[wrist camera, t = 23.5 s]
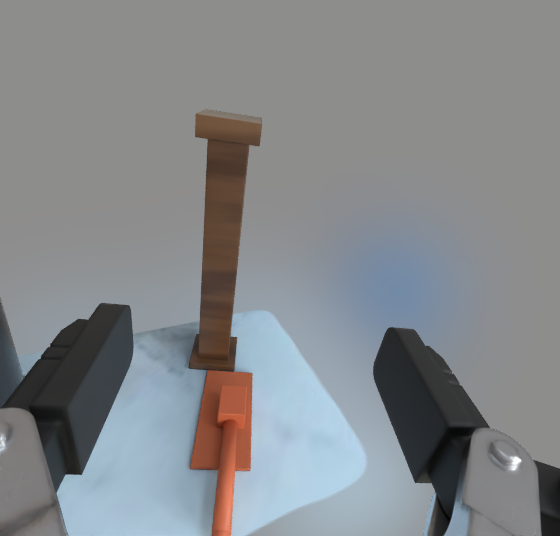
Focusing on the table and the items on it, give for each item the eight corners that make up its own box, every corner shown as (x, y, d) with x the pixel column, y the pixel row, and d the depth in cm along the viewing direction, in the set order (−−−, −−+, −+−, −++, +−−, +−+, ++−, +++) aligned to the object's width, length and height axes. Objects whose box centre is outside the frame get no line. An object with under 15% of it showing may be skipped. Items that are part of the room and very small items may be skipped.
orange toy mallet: (237, 550, 28) (240, 536, 27) (201, 550, 28) (202, 535, 27) (244, 400, 42) (246, 386, 40) (220, 398, 41) (221, 384, 40)
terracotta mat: (249, 471, 35) (250, 468, 34) (190, 469, 34) (190, 466, 34) (252, 375, 46) (252, 372, 46) (207, 372, 45) (207, 369, 45)
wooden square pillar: (233, 372, 46) (262, 123, 31) (188, 370, 45) (195, 113, 30) (236, 341, 51) (261, 117, 37) (196, 337, 51) (205, 109, 36)
